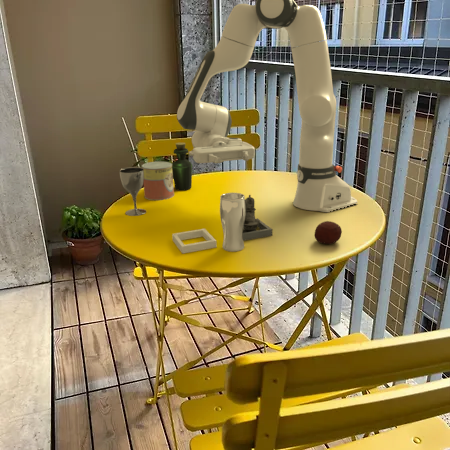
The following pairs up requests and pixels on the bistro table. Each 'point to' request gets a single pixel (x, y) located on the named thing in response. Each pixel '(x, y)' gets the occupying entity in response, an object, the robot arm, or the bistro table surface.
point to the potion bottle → (182, 169)
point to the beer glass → (233, 220)
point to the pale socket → (194, 246)
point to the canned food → (158, 180)
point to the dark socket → (258, 232)
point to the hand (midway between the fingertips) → (233, 159)
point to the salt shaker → (250, 216)
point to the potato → (328, 232)
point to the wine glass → (133, 186)
